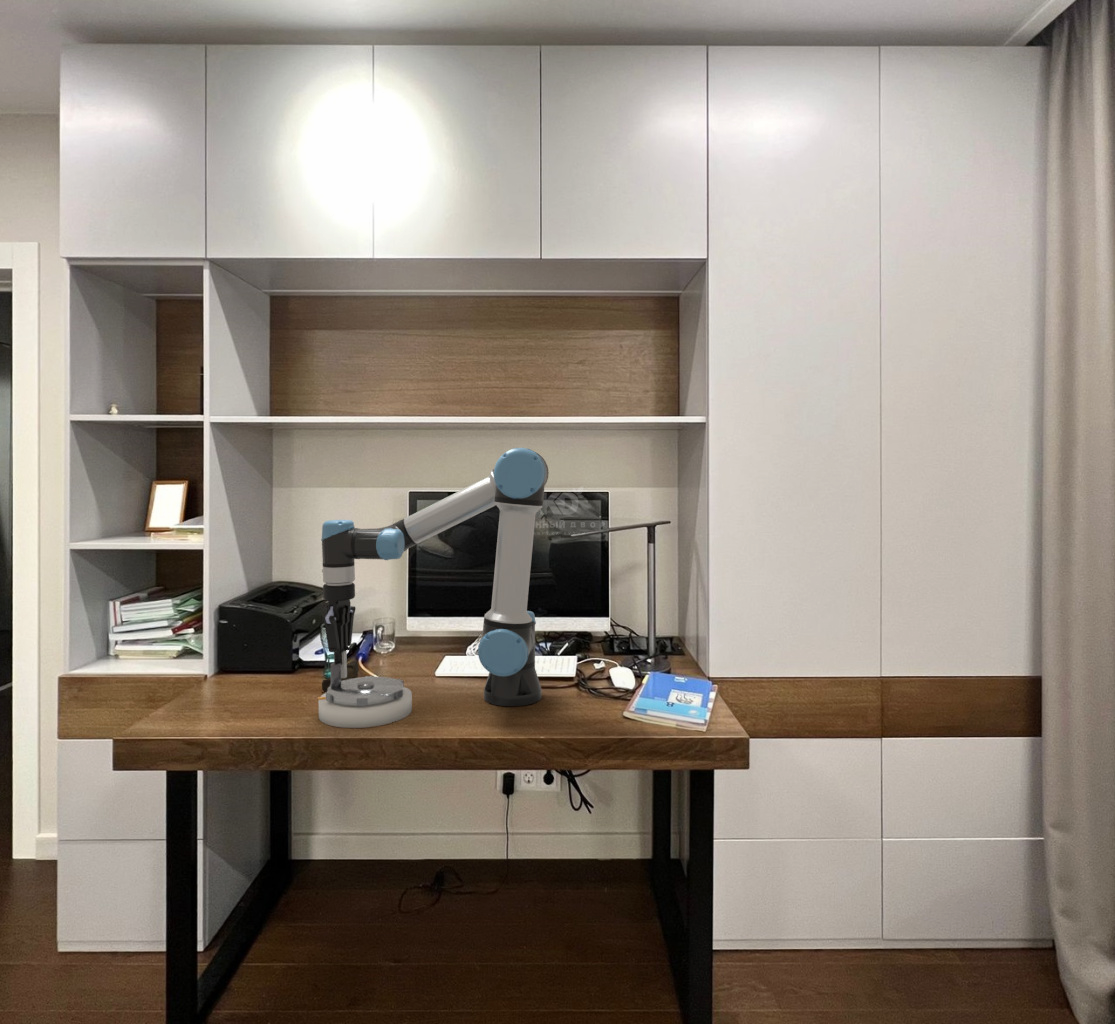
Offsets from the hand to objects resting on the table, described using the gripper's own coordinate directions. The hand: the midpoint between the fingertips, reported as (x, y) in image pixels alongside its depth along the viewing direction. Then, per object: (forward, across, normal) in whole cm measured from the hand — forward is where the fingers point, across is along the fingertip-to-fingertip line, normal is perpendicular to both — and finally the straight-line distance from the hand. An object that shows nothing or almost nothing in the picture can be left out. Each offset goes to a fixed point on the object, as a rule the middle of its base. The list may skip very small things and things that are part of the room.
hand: (340, 677), depth 175 cm
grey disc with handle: (+4, +1, +7) cm, 8 cm away
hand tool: (+9, -21, -11) cm, 25 cm away
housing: (+8, +1, +7) cm, 11 cm away
